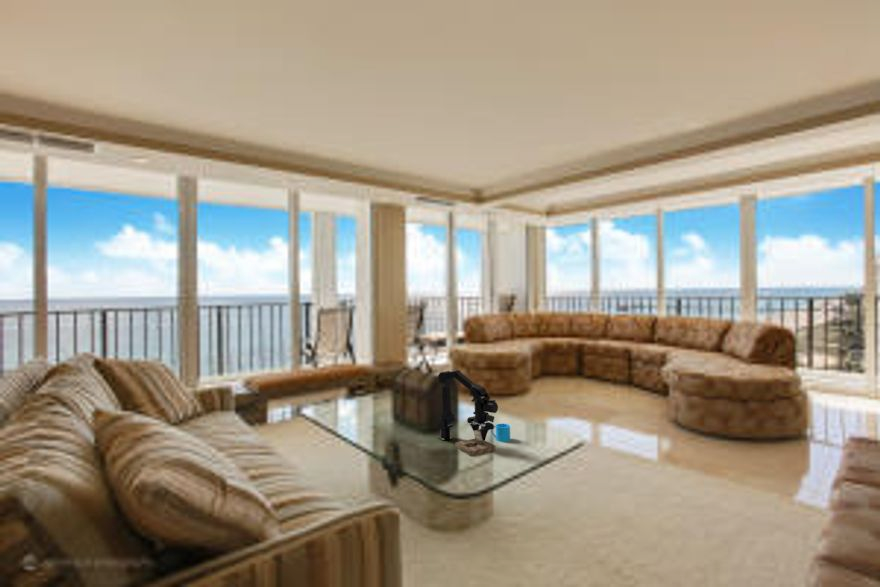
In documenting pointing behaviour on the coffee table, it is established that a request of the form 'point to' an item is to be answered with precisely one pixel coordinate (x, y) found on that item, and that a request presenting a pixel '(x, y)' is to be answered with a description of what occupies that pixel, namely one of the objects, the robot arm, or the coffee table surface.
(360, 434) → the coffee table surface
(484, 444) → the keyhole board
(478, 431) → the peg
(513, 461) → the coffee table surface
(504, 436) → the mug
